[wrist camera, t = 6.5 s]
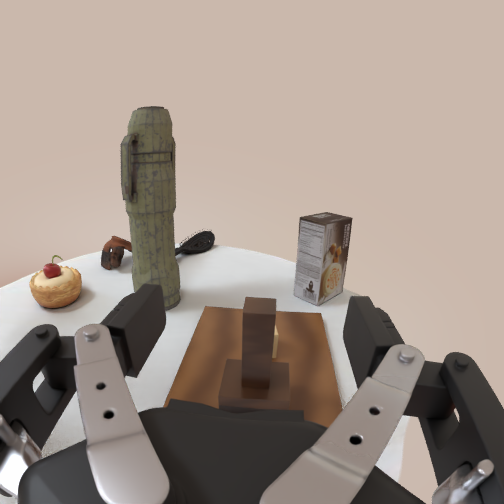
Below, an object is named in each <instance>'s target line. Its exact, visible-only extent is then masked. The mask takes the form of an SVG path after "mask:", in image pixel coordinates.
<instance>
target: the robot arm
mask: <svg viewBox="0 0 504 504" xmlns="http://www.w3.org/2000/svg"><path fill="white" fill-rule="evenodd" d="M165 325H166V313H165V305H164V296H163V289H162V286H161V285H157V284H146V283H144V284H143V285H142V286H141V287H140V288H139V289H138V290H137V291H136V293H132V294H130V295H128V296H126V297H124V298H123V299H122V300H121V301H120V302H119V303H118V305H117V306H116V307H115V308H114V310H112V311H111V312H110V313H109V314H108V315H107V316H106V318H105V319H104V320H103V321H102V322H101V323H100V324H89V325H86V326H84V327H82V328H80V329H79V330H78V331H77V332H76V333H75V336H59V333H58V330H57V328H56V327H55V326H54V325H51V324H44V325H40V326H37V327H35V328H33V329H32V330H31V331H30V332H29V333H28V334H27V335H26V336H25V337H24V338H23V339H22V340H21V341H20V342H19V343H18V344H17V345H16V346H15V347H14V348H13V349H12V350H11V351H10V352H9V353H8V354H7V355H6V356H5V358H4V359H3V360H2V361H1V362H0V494H2V495H4V496H7V497H12V496H13V497H15V498H16V499H18V504H426V503H424V502H423V501H422V500H420V499H419V498H418V497H416V496H415V495H413V494H412V493H410V492H409V491H408V490H406V489H405V488H404V487H402V486H401V485H400V484H398V483H397V482H396V481H394V480H393V479H392V478H391V477H389V476H388V475H387V474H385V473H384V472H383V471H382V470H380V469H379V468H378V467H377V466H375V464H376V462H377V461H378V459H379V457H380V456H381V454H382V452H383V451H384V449H385V447H386V445H387V444H388V442H389V440H390V438H391V436H392V434H393V432H394V431H395V429H396V427H397V425H398V423H399V421H400V419H401V417H402V415H406V416H414V417H418V418H419V421H420V424H421V428H422V431H423V434H424V437H425V440H426V444H427V447H428V450H429V454H430V457H431V461H432V464H433V468H434V472H435V476H436V479H437V483H438V488H437V489H436V490H435V492H434V494H433V496H432V504H504V409H503V407H502V405H501V403H500V402H499V400H498V398H497V396H496V395H495V393H494V391H493V390H492V388H491V386H490V385H489V383H488V381H487V380H486V378H485V377H484V375H483V374H482V372H481V370H480V369H479V367H478V366H477V364H476V363H475V361H474V360H473V359H472V358H471V357H469V356H468V355H466V354H463V353H459V352H453V353H449V354H448V355H447V356H446V357H445V359H444V362H443V363H437V362H430V361H425V358H424V355H423V354H422V352H421V351H420V350H418V349H416V348H415V347H413V346H410V345H405V343H404V341H403V339H402V338H401V336H400V334H399V333H398V331H397V329H396V328H395V326H394V324H393V323H392V321H391V319H390V317H389V316H388V314H387V313H385V312H384V311H383V310H381V309H380V308H375V307H374V305H373V303H372V301H371V300H370V298H369V297H368V296H351V297H350V300H349V304H348V310H347V315H346V319H345V324H344V330H343V340H344V344H345V347H346V350H347V354H348V357H349V360H350V364H351V367H352V370H353V374H354V377H355V381H356V384H357V388H358V390H357V392H356V393H355V395H354V396H353V397H352V399H351V400H350V401H349V403H348V404H347V405H346V406H345V408H344V409H343V410H342V412H341V413H340V414H339V415H338V417H337V418H336V419H335V420H334V422H333V423H332V424H331V425H330V427H329V428H327V427H325V426H323V425H321V424H318V423H315V422H312V421H308V420H304V410H274V409H269V410H262V411H254V412H245V413H231V412H227V411H224V410H221V409H218V408H215V407H212V406H209V405H206V404H203V403H197V402H190V401H184V400H178V399H172V398H170V400H169V403H168V405H167V407H160V408H153V409H148V410H145V411H142V412H139V413H137V410H136V408H135V405H134V403H133V400H132V397H131V395H130V392H129V389H128V387H127V384H126V381H125V376H130V377H135V378H137V376H138V374H139V372H140V371H141V369H142V367H143V365H144V364H145V362H146V360H147V358H148V357H149V355H150V353H151V351H152V350H153V348H154V346H155V344H156V343H157V341H158V339H159V337H160V336H161V334H162V332H163V331H164V328H165ZM40 371H42V373H43V375H44V377H45V379H44V381H43V382H42V383H41V385H40V386H39V388H38V389H37V390H36V392H35V393H34V391H33V381H34V379H35V377H36V376H37V375H38V373H39V372H40ZM76 390H77V395H78V401H79V406H80V412H81V417H82V422H83V427H84V431H85V435H86V439H85V440H83V441H81V442H79V443H77V444H75V445H72V446H70V447H68V448H66V449H64V450H61V451H59V452H57V453H55V454H52V455H50V456H48V457H45V458H43V459H42V454H41V450H42V448H43V446H44V445H45V443H46V441H47V439H48V437H49V436H50V434H51V432H52V430H53V429H54V427H55V425H56V423H57V422H58V420H59V418H60V417H61V415H62V413H63V412H64V410H65V408H66V407H67V405H68V403H69V402H70V400H71V398H72V397H73V395H74V394H75V392H76ZM455 408H456V409H457V411H458V414H459V422H458V420H457V417H456V415H455V413H454V409H455Z"/></svg>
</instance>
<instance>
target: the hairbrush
mask: <svg viewBox="0 0 504 504" xmlns="http://www.w3.org/2000/svg"><path fill="white" fill-rule="evenodd" d="M214 240H215V237H214V234H213V233H212V232H211V231H203V232H201V233H198V234H196V235H195V236H193V237H192V238H190V239H189V240H188V241H186V242H184V243H183V245H180V244H179V245H180V247H179V248H175V256H176V255H178V254H180V253H181V252H188V253H201V252H205V251H207V250H209V249H210V248H211V247H212V246H213V244H214ZM209 241H210V242H209ZM181 243H182V242H181Z"/></svg>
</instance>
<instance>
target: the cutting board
mask: <svg viewBox="0 0 504 504" xmlns="http://www.w3.org/2000/svg"><path fill="white" fill-rule="evenodd" d="M242 313H243V309H234V308H221V307H209V306H205V308H204V311H203V313H202V315H201V318H200V320H199V322H198V325H197V327H196V329H195V332H194V334H193V336H192V339H191V341H190V343H189V346H188V348H187V351H186V353H185V355H184V358H183V360H182V363H181V365H180V367H179V370H178V372H177V375H176V377H175V379H174V382H173V384H172V387H171V389H170V392H169V394H168V396H167V399H166V401H165V404H164V406H163V407H167V405H168V403H169V400H170V398H172V399H178V400H184V401H190V402H197V403H203V404H206V405H209V406H212V407H215V408H218V409H219V403H218V394H219V390H220V385H221V381H222V377H223V372H224V368H225V364H226V359H239V360H242ZM275 325H276V329H277V332H278V344H277V354H276V358H272V362H288V363H289V376H290V405H289V410H304V420H308V421H312V422H315V423H318V424H321V425H323V426H325V427H327V428H329V427H330V425H331V424H332V423H333V422H334V420H335V419H336V418H337V417H338V415H339V414H340V413H341V412H342V405H341V400H340V395H339V390H338V386H337V381H336V376H335V372H334V367H333V363H332V358H331V354H330V349H329V345H328V341H327V336H326V332H325V328H324V324H323V320H322V316H321V313H305V312H282V311H276V322H275Z"/></svg>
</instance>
